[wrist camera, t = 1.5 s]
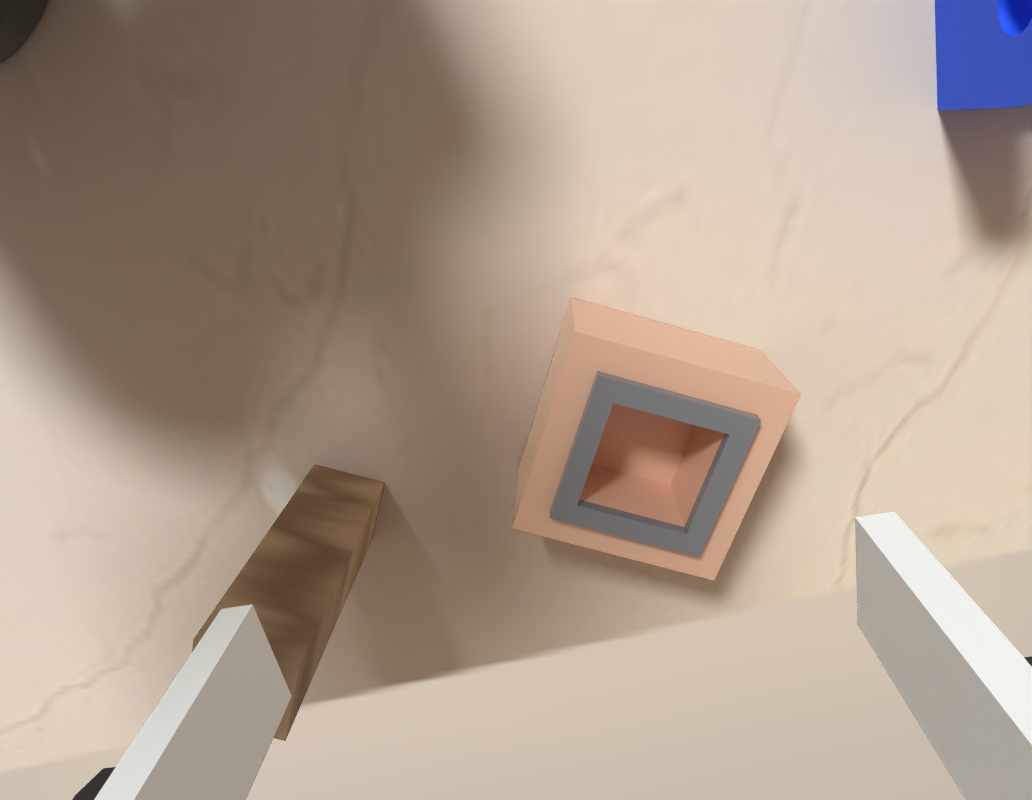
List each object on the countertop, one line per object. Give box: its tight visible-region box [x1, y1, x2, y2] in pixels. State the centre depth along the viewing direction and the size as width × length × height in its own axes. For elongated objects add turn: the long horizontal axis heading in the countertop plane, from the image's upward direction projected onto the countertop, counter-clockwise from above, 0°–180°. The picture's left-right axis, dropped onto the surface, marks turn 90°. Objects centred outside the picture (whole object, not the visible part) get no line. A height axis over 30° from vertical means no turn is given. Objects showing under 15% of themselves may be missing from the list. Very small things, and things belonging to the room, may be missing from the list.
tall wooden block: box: [192, 465, 384, 741], centre depth 33 cm, size 4×4×14 cm
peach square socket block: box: [513, 298, 801, 581], centre depth 33 cm, size 10×10×7 cm
